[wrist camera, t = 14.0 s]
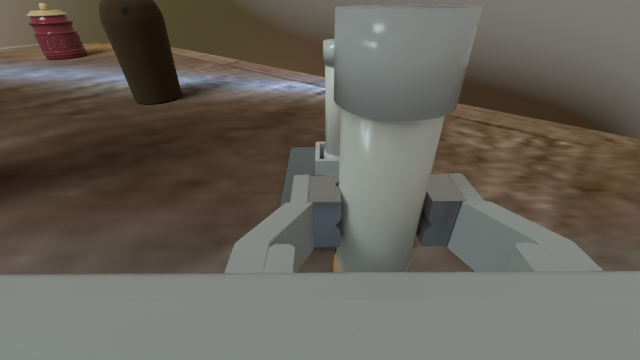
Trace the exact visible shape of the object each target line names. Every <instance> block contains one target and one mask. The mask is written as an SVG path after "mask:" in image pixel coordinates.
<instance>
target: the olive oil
mask: <svg viewBox="0 0 640 360" xmlns="http://www.w3.org/2000/svg"><path fill="white" fill-rule="evenodd" d="M99 15H100V20H101V23H102V25H103V27H104V30H105V32H106V34H107V36H108V38H109V41H110V43H111V45H112V47H113V50H114V52H115V54H116V57H117V59H118V61H119V63H120V66H121V68H122V70H123V73H124V75H125V77H126V80H127V82H128V84H129V87H130V89H131V92H132V94H133V97H134V99H135V101H136V102H137V103H140V104H159V103H165V102H169V101H173V100H176V99H178V98H179V97H181V95H182V93H181V89H180V85H179V81H178V77H177V73H176V69H175V65H174V61H173V57H172V52H171V48H170V44H169V39H168V35H167V30H166V26H165V22H164V18H163V15H162V13H161V11H160V9H159V8H158V6H157V5H156V4H155V2H154V1H153V0H101V1H100V4H99Z"/></svg>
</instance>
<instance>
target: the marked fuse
mask: <svg viewBox="0 0 640 360" xmlns="http://www.w3.org/2000/svg"><path fill="white" fill-rule="evenodd" d="M481 10H482V7H481V6H464V5H371V6H370V5H369V6H341V7H335V51H334V102H335V103H336V105H338V106H339V107H340V108H341V130H340V161H339V188H340V191H341V220H340V231H341V232H340V246H337V252H336V254H335V256H334V265H333V273H339V272H410V270H409V262H410V258H411V253H412V249H413V245H414V241H415V237H416V233H417V229H418V225H419V220H420V216H421V212H422V208H423V204H424V200H425V196H426V192H427V187H428V183H429V179H430V175H431V171H432V167H433V163H434V158H435V154H436V150H437V146H438V142H439V138H440V134H441V130H442V125H443V121H444V117H445V115H448V114H450V113H452V112H453V111H454V110H455V109H456V106H457V102H458V98H459V94H460V91H461V87H462V83H463V79H464V75H465V71H466V68H467V64H468V60H469V56H470V52H471V48H472V44H473V41H474V37H475V33H476V29H477V25H478V22H479V18H480V14H481Z"/></svg>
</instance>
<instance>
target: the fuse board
mask: <svg viewBox="0 0 640 360" xmlns="http://www.w3.org/2000/svg"><path fill="white" fill-rule="evenodd" d="M324 149H325V142H316V147H291V152H290V157H289V162H288V167H287V172H286V178H285V183H284V188H283V193H282V198H281V203H280V207H281V206H282V205H283V204H285V203H290V199H291V193H292V186H293V179H294V176H295V175H307V174H309V175H339V161H340V159H324ZM314 250H337V246H334V247H314Z"/></svg>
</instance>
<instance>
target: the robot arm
mask: <svg viewBox="0 0 640 360" xmlns="http://www.w3.org/2000/svg"><path fill="white" fill-rule="evenodd" d="M340 220H341V191H340V188H339V175H309V174H307V175H295V176H294V179H293V186H292V193H291V199H290V203H285V204H283V205H282V206H281V207H280V208H278V209H277V210H276V211H275V212H273V213H272V214H271V215H270V216H268V217H267V218H266V219H265V220H263V221H262V222H261V223H260V224H258V225H257V226H256V227H255V228H253V229H252V230H251V231H250V232H248V233H247V234H246V235H245V236H243V237H242V238H241V239H239V240H238V241H237V242H236V243H235V244H234V247H233V250H232V253H231V256H230V258H229V261H228V264H227V267H226V270H225V273H156V274H0V360H640V271H603V270H602V269H601V268H600V267H599V266H598V265H597V264H596V263H595V262H594V261H593V260H592V259H591V258H590V257H589V256H588V255H587V254H586V253H584V252H583V251H582V250H581V249H580V248H579V247H578V246H577V245H576V244H575V243H574V242H573V241H571V240H569V239H567V238H565V237H563V236H561V235H559V234H557V233H554V232H552V231H550V230H548V229H546V228H544V227H542V226H540V225H538V224H536V223H534V222H532V221H530V220H528V219H525V218H523V217H521V216H519V215H517V214H515V213H513V212H511V211H509V210H507V209H505V208H503V207H501V206H499V205H496V204H494V203H492V202H490V201H484V200H483V199H482V197H481V196H480V195H479V194H478V192H477V191H476V190H475V189H474V188H473V186H472V185H471V184H470V183H469V181H468V180H467V179H466V178H465V177H464V175H463V174H460V173H452V174H431V175H430V179H429V183H428V187H427V192H426V196H425V200H424V204H423V208H422V212H421V216H420V220H419V225H418V229H417V233H416V235H417V238H418V240H419V242H420V245H421V246H447V248H448V249H449V250H451V251H452V252H453V253H454V254H455V255H456V256H458V257H459V258H460V259H461V260H462V261H463V262H465V263H466V264H467V265H468V266H469V267H471V268H472V269H473V270H474V271H475V272H339V273H297V271H298V270H299V269H300V267H301V266H302V265H303V263H304V262H305V260H306V259H307V258H308V256H309V255H310V254H311V252H312V251H313V250H314V247H334V246H340V232H341V231H340Z"/></svg>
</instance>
